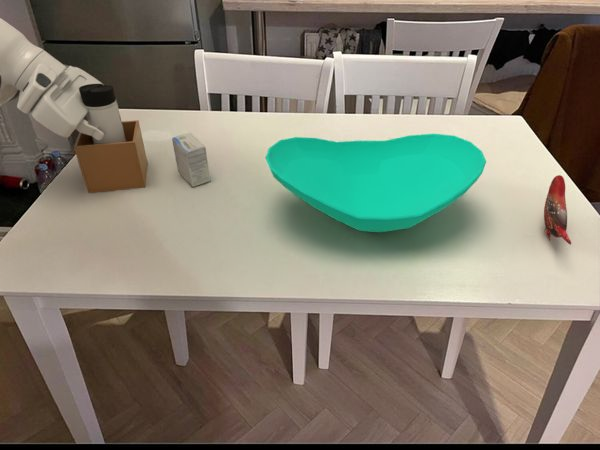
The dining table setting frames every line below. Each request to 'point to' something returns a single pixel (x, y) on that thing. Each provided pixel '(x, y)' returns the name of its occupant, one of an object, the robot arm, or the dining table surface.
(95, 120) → the travel mug
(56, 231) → the dining table surface
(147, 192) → the dining table surface
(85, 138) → the brown open box
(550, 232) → the decorative bird figurine
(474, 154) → the table top decor
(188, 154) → the medicine box
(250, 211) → the dining table surface
